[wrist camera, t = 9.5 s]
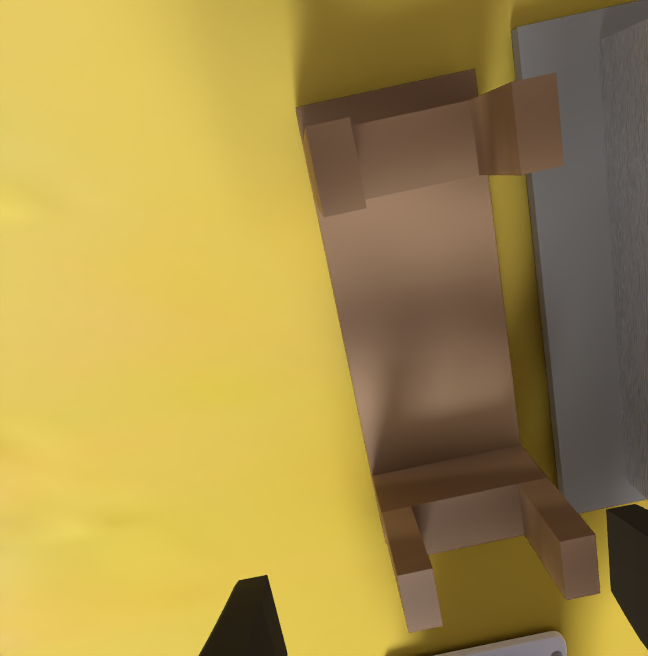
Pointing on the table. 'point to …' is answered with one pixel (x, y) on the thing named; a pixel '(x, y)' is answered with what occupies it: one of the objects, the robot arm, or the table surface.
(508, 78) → the table surface
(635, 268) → the rail
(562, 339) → the mat
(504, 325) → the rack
